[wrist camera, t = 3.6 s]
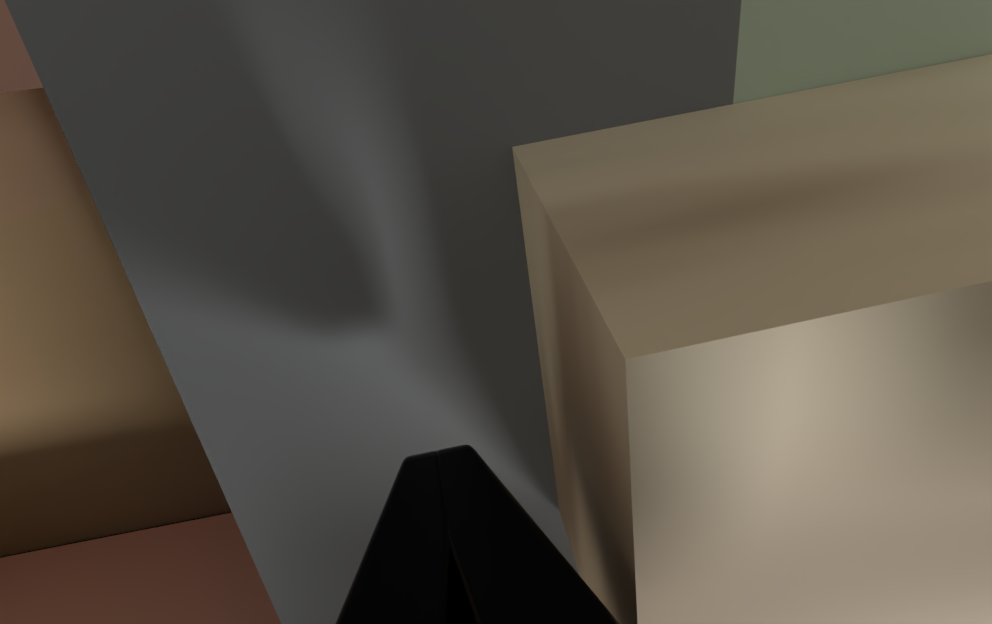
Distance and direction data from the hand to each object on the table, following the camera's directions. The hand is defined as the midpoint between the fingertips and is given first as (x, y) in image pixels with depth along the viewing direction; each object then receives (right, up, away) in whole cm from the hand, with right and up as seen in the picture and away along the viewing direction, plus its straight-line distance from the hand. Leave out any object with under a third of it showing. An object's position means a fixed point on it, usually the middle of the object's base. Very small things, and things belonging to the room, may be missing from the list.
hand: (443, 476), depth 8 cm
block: (+4, +2, +2) cm, 5 cm away
